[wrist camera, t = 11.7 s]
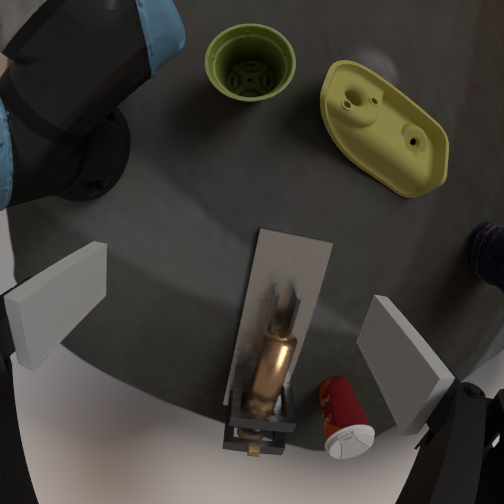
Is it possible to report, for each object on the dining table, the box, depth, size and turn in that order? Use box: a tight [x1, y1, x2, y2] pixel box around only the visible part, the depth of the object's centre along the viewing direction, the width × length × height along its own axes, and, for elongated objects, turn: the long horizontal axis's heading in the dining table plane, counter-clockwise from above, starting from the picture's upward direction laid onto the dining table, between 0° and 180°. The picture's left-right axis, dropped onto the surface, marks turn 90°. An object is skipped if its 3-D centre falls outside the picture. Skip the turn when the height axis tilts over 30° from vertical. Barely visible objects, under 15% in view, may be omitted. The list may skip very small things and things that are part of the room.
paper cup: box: [319, 377, 375, 459], centre depth 41 cm, size 8×8×14 cm
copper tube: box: [237, 329, 297, 440], centre depth 40 cm, size 20×5×5 cm, turn 169°
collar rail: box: [223, 227, 333, 457], centre depth 38 cm, size 32×10×13 cm, turn 169°
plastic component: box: [320, 60, 449, 198], centre depth 34 cm, size 20×7×10 cm
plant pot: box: [205, 24, 296, 102], centre depth 30 cm, size 9×9×9 cm
